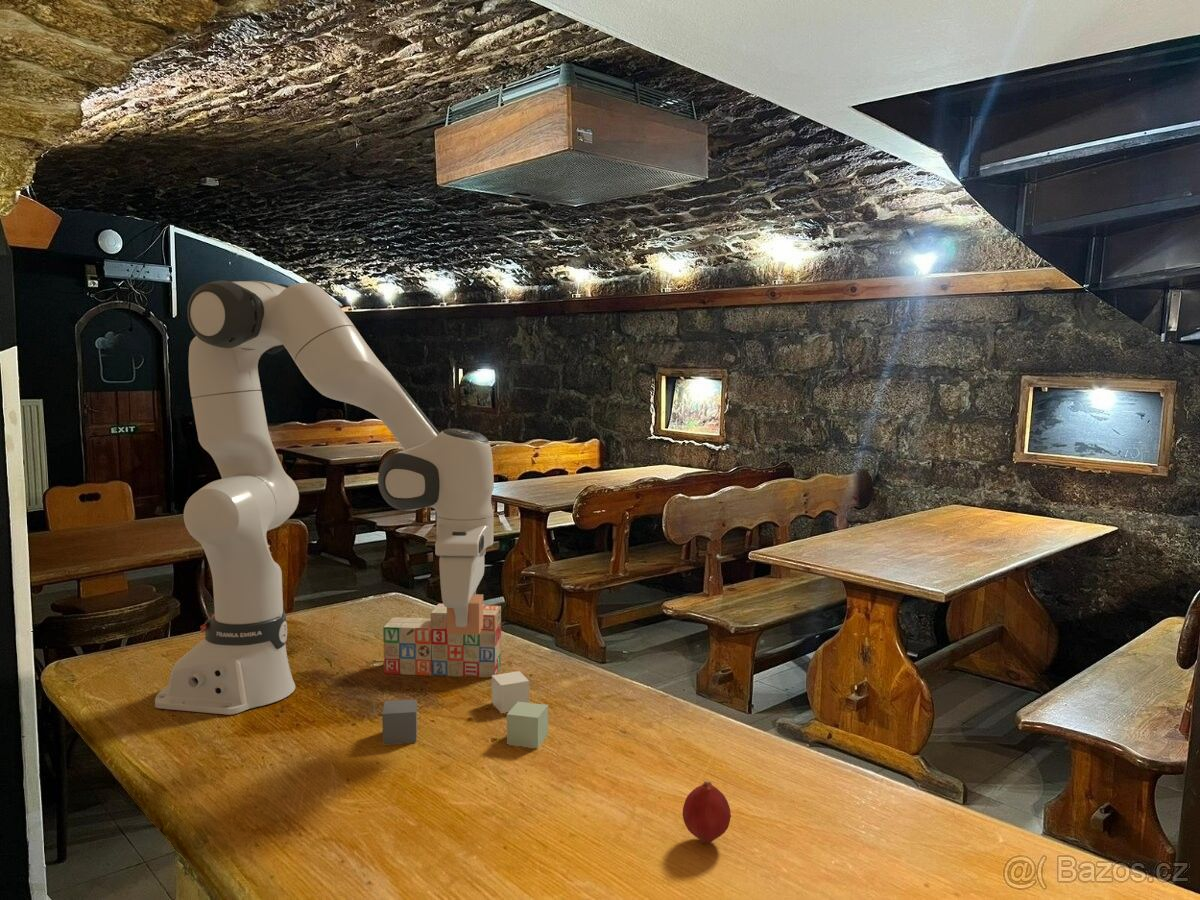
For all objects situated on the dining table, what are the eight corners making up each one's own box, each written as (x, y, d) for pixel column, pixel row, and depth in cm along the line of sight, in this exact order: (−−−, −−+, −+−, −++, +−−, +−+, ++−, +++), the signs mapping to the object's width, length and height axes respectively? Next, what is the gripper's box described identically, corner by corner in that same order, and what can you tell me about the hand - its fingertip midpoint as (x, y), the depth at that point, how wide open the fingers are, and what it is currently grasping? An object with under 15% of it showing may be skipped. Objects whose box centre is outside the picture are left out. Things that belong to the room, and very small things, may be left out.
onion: (678, 830, 105) (679, 769, 104) (723, 828, 106) (724, 767, 105) (687, 857, 99) (688, 792, 98) (734, 854, 100) (736, 791, 99)
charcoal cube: (382, 745, 128) (382, 714, 127) (385, 731, 133) (384, 701, 132) (416, 743, 129) (415, 711, 128) (417, 729, 134) (417, 699, 133)
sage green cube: (506, 745, 128) (506, 714, 128) (518, 731, 133) (518, 701, 133) (537, 749, 127) (537, 717, 127) (548, 735, 132) (548, 704, 131)
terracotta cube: (446, 634, 130) (446, 602, 129) (452, 624, 135) (452, 594, 134) (479, 634, 130) (479, 603, 129) (483, 624, 135) (483, 594, 134)
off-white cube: (501, 714, 140) (501, 685, 139) (491, 703, 144) (491, 675, 144) (529, 709, 142) (529, 680, 141) (519, 698, 146) (519, 671, 146)
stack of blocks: (383, 674, 157) (381, 611, 156) (393, 663, 163) (392, 601, 162) (495, 678, 156) (495, 613, 155) (501, 666, 162) (501, 604, 161)
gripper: (455, 520, 141) (455, 600, 142) (432, 547, 121) (433, 640, 122) (493, 521, 141) (493, 601, 143) (476, 547, 121) (476, 640, 122)
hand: (465, 619), depth 132 cm, fingers closed on terracotta cube, 5 cm apart
